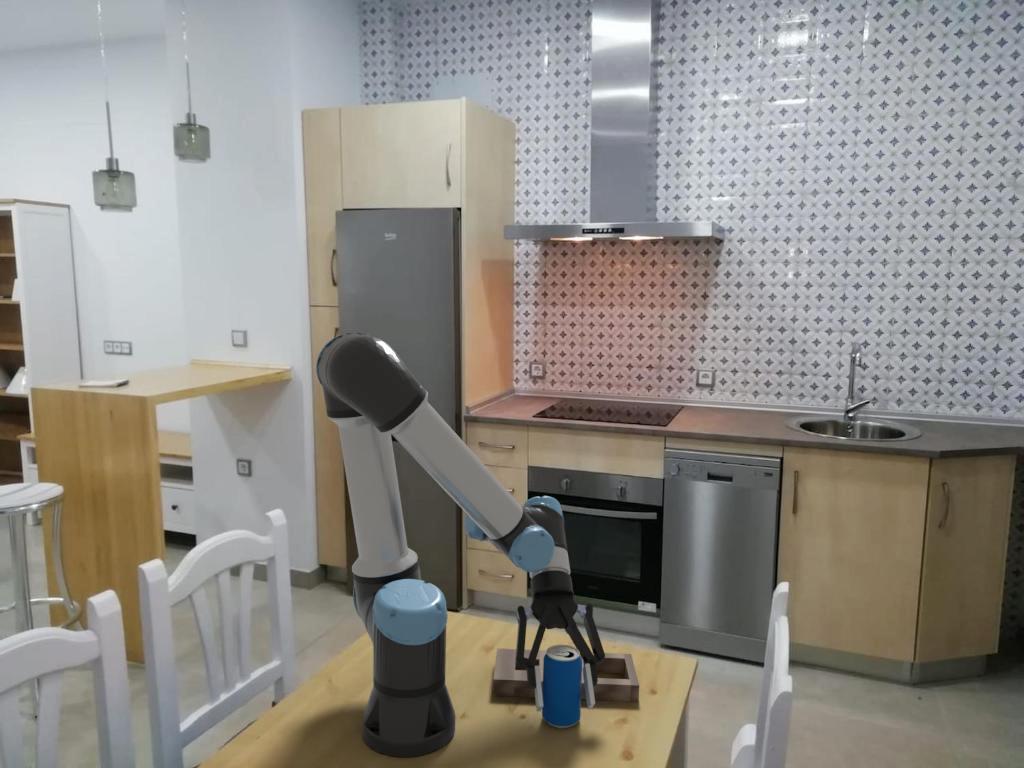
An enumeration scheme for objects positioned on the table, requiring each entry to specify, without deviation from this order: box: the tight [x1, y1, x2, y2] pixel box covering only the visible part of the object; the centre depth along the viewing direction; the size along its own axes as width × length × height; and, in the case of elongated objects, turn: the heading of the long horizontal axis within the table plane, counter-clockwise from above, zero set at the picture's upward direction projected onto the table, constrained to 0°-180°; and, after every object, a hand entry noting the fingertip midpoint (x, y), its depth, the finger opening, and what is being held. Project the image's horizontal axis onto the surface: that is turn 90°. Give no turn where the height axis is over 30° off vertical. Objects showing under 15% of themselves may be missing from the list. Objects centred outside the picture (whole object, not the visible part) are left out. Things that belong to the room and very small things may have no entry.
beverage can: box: [541, 644, 582, 729], centre depth 125 cm, size 6×6×12 cm
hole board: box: [492, 648, 640, 702], centre depth 139 cm, size 26×12×3 cm, turn 88°
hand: (565, 707), depth 122 cm, fingers open, 8 cm apart
